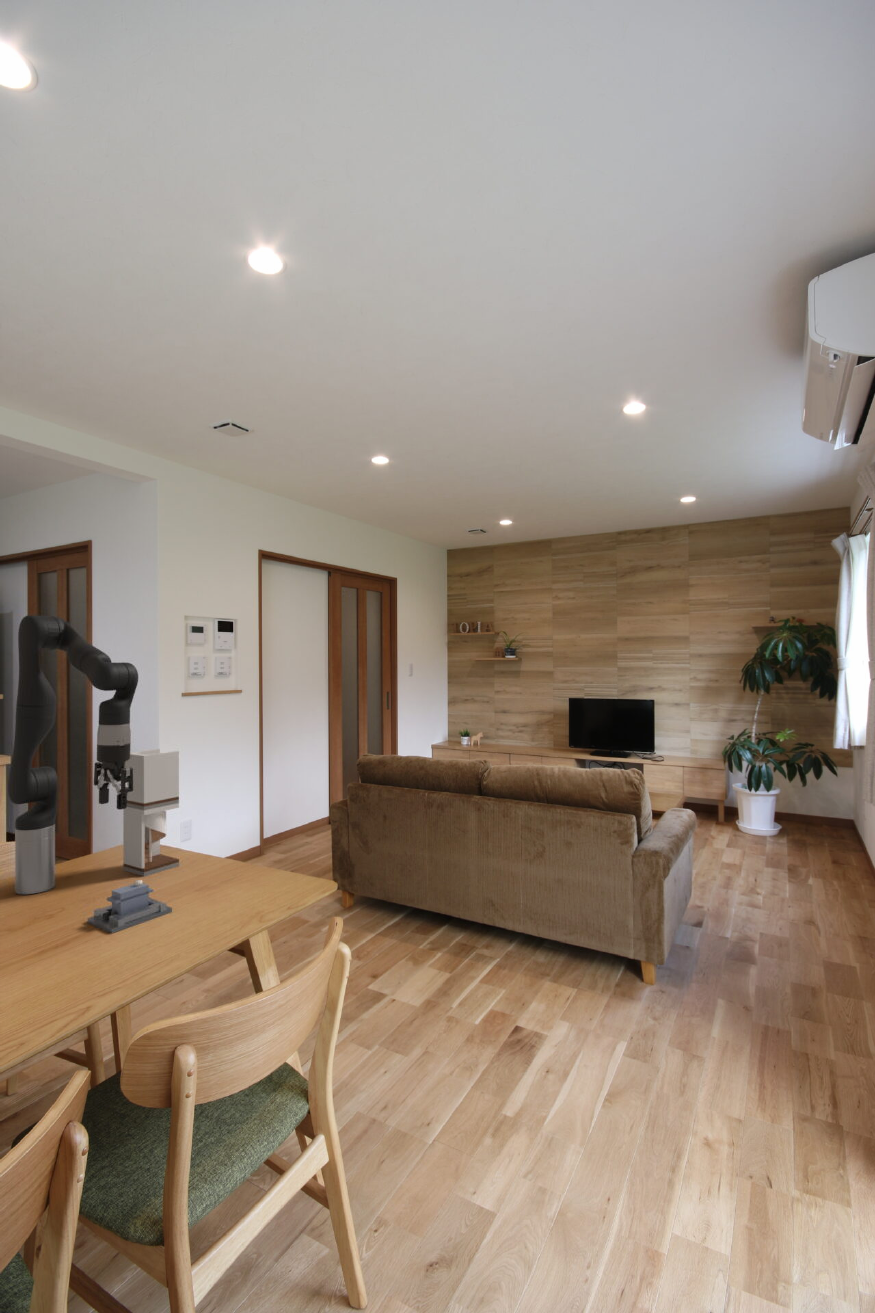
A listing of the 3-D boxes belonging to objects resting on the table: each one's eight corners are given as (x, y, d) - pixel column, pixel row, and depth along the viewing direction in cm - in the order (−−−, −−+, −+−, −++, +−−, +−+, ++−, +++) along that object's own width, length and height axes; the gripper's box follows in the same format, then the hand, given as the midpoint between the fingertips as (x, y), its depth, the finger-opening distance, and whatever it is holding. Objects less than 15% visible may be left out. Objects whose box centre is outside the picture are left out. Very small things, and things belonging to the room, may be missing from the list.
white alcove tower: (144, 876, 183) (143, 756, 183) (123, 870, 188) (123, 753, 189) (179, 865, 192) (178, 751, 193) (158, 860, 198) (158, 749, 198)
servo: (115, 921, 148) (115, 891, 148) (106, 917, 150) (106, 887, 150) (153, 908, 156) (153, 879, 156) (144, 904, 158) (144, 876, 158)
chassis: (111, 933, 144) (111, 922, 144) (87, 922, 150) (87, 912, 150) (171, 912, 156) (171, 901, 156) (147, 902, 162) (147, 893, 162)
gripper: (84, 740, 159) (83, 804, 159) (114, 746, 151) (112, 813, 151) (113, 737, 165) (112, 799, 165) (143, 743, 157) (142, 808, 157)
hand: (112, 806), depth 158 cm, fingers open, 8 cm apart
